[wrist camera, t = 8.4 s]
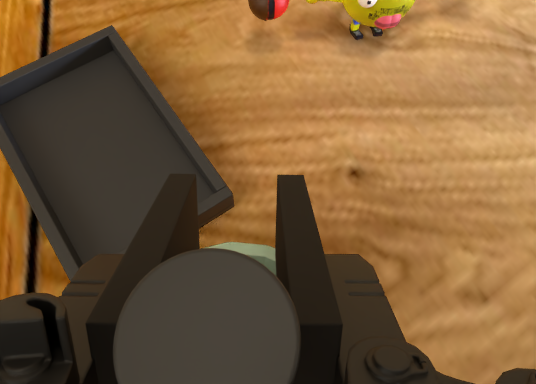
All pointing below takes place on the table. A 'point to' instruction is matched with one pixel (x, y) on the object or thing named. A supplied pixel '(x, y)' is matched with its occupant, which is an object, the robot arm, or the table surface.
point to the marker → (208, 324)
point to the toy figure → (357, 6)
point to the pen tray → (97, 147)
